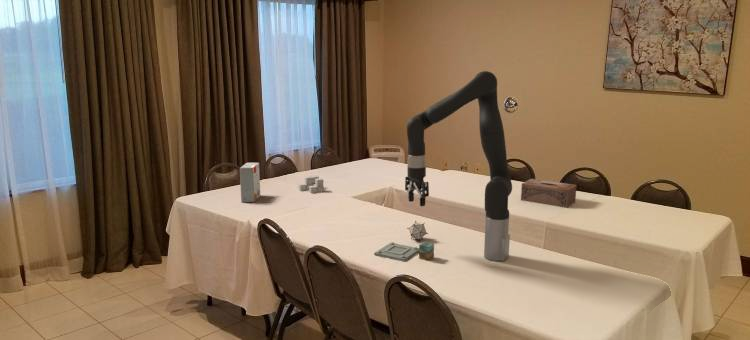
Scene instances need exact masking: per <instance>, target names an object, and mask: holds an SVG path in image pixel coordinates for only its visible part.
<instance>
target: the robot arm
mask: <svg viewBox="0 0 750 340" xmlns="http://www.w3.org/2000/svg"><path fill="white" fill-rule="evenodd" d="M475 100H477V103H478V108H479V109H478V110H479V113H478V114H479V115H478V116H479V117H478V118H479V121H478V122H479V123H478V124H479V137H480V144H481V148H482V151H483V154H484V155H485V157H486V161H487V163H488V166H489V177H490V180H489V182H487V184H486V185H485V187H484V188H485V189H484V211H485V225H484V226H485V227H484V247H483V248H484V249H483V250H484V251H483V257H484V258H485V259H487V260H489V261H494V262H497V261H498V262H505V261H506V260H507V259H508V258H509V257H510V237H511V234H509V230H510V228H509V226H510V210H509V196H510V195H511V193H512V192H513V183H512V180H511V175H510V170H509V166H508V160H507V158H508V157H507V147H506V138H505V131H504V130H505V129H504V125H503V121H502V120H503V119H502V116H501V112H500V108H499V104H498V103H499V102H498V79H497V77H496V75H495V74H494V73H493V72H491V71H487V70H483V71H480V72H479V73H477V74H475V76H474V78H472V79H471V80H470V81H469V82H467V84H465V85H463V87H461V88H460V89H458V90H457V91H455V92H453V93H451V94H449V95H448V96H446V97H444V98H442V99H441V100H439V101H437V102H435V103H434V104H432V105H431V106H429V107H428V108H427V109H426V110H423V111H421V112H419V113H417V114H416V115H414V116H413V117H411V118H410V119H409V120H408V121H407V123H406V136H407V143H408V144H407V164H406V165H407V167H406V168H407V171H406V172H407V176H405V179H404V180H405V181H404V182H405V183H404V184H405V185H404V186H405V187H404V191H407V193H408V195H407V196H408V197H407V198H408V202H410V203H412V202H414V200H415V191H416V193H417V194H418V195H419V207H425V206H426V198H427V197H429V196H430V189H429V188H430V187H429V186H430V185H429V181H425V180H424V178H426V176H427V166H426V165H427V159H426V142H425V130H427V129H429V128H430V127H431V126H433V125H434V124H438V123H440V122H441V121H443V120H445V119H447V117H449V116H451V115H452V114H454V113H455V112H457V111H458V110H460V109H461V108H463V107H464V106H467V104H469V103H471V102H473V101H475Z"/></svg>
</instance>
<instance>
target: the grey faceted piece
mask: <svg viewBox="0 0 750 340" xmlns="http://www.w3.org/2000/svg"><path fill="white" fill-rule="evenodd" d="M406 229H408V230H409V233H410V236H411V237H410V239H415V240H418V241H419V242H421V240H422V238H423V237H425V236H426V235H429V233H428V232H427V229H426V227H425V222H424V223H420V222H417V220H415V221H414V223H413V224H412V225H411V226H409V227H407V228H406Z"/></svg>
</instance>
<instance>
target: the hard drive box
mask: <svg viewBox="0 0 750 340" xmlns="http://www.w3.org/2000/svg"><path fill="white" fill-rule="evenodd" d="M260 176H261V175H260V162H246V163H244V164H243V165H242V166H241V167H239V177H240V178H239V179H240V180H239V183H240V184H239V185H240V202H241V203H255V202H256V201H257V200H258V199H259V198H260V197H261V179H260V178H261V177H260Z"/></svg>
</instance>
